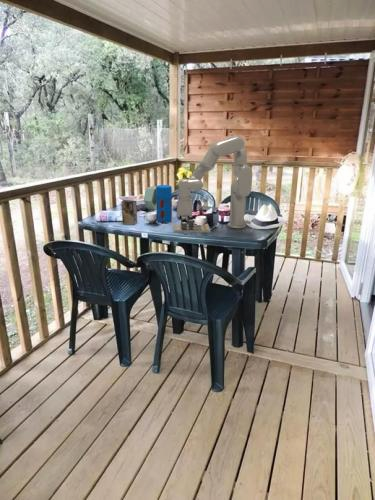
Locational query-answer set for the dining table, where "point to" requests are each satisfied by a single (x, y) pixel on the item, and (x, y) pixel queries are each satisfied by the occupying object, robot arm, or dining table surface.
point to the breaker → (184, 225)
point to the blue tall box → (164, 203)
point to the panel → (190, 228)
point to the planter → (150, 198)
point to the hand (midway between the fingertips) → (184, 225)
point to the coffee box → (129, 212)
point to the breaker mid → (191, 223)
